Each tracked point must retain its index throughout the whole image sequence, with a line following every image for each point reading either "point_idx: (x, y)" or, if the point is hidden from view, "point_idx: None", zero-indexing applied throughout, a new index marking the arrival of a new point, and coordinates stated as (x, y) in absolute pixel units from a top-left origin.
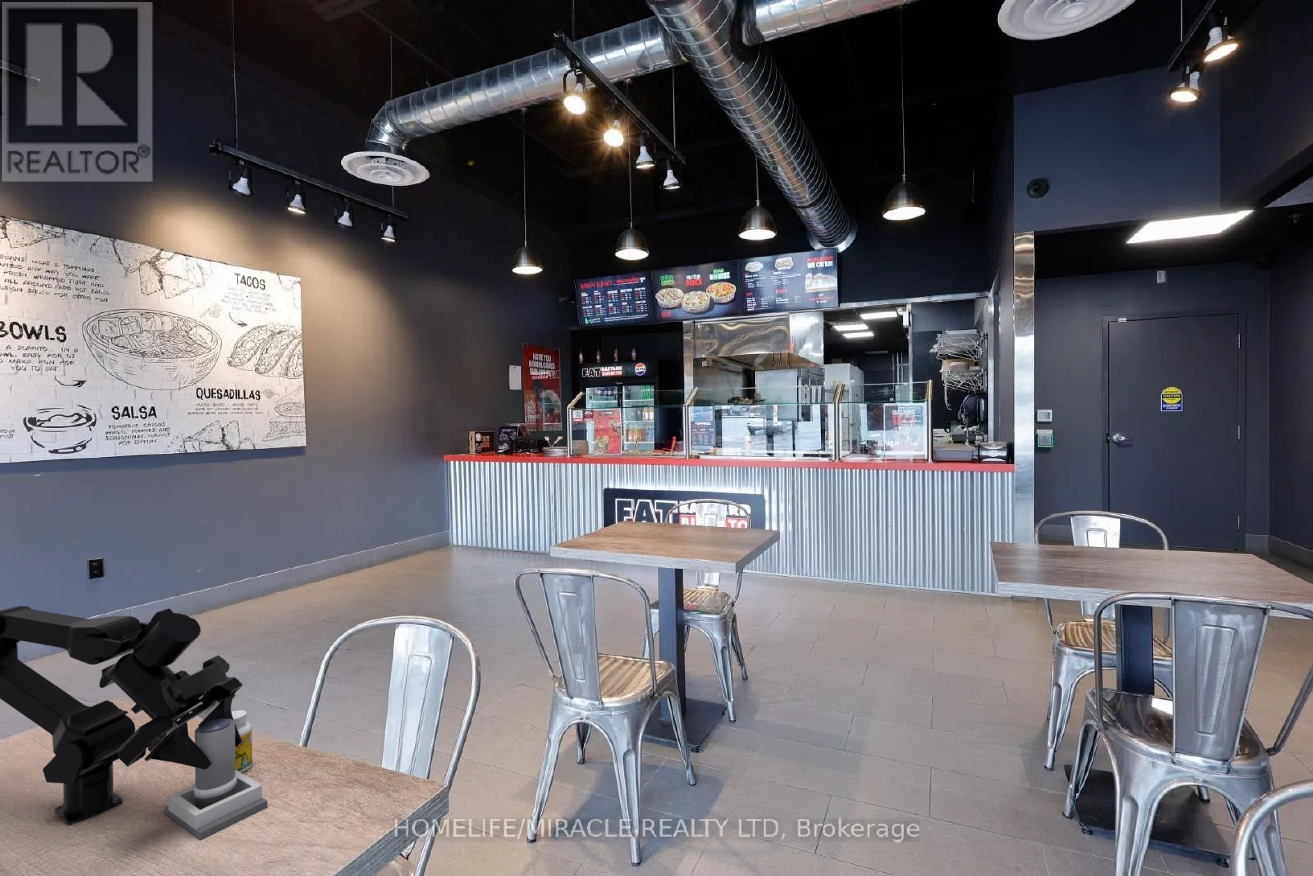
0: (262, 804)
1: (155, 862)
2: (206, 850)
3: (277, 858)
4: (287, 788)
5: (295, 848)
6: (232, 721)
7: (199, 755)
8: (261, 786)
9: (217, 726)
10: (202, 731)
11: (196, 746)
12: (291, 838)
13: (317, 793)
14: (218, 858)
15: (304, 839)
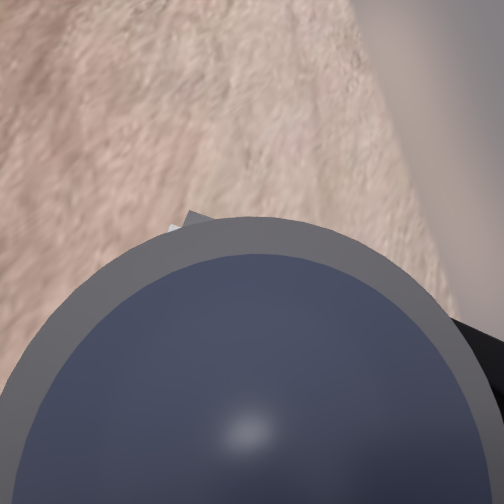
0: (202, 216)
1: (444, 305)
2: (373, 222)
3: (347, 55)
4: (92, 235)
5: (312, 43)
6: (62, 338)
7: (453, 320)
8: (173, 226)
9: (308, 369)
10: (478, 484)
11: (500, 375)
12: (287, 71)
13: (108, 133)
14: (385, 170)
15: (283, 44)
